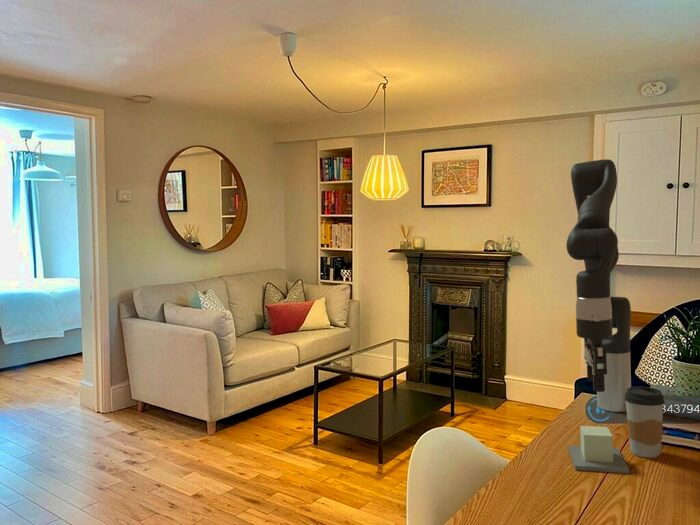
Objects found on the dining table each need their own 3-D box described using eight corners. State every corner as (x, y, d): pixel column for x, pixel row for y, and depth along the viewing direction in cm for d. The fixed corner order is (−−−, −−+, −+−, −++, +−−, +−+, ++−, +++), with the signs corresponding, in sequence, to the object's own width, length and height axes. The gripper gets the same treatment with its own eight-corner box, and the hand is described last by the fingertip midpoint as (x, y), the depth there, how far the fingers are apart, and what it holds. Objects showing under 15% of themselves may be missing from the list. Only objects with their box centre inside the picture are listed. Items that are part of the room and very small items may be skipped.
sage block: (580, 450, 131) (580, 425, 131) (608, 452, 130) (607, 427, 129) (584, 460, 125) (584, 434, 125) (613, 462, 124) (612, 436, 124)
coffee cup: (655, 446, 134) (654, 385, 134) (672, 460, 126) (671, 395, 125) (620, 446, 135) (618, 386, 134) (634, 460, 127) (632, 396, 126)
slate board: (568, 449, 135) (568, 445, 135) (617, 452, 132) (617, 447, 132) (575, 470, 123) (575, 465, 123) (629, 473, 120) (628, 468, 120)
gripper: (572, 311, 134) (573, 377, 134) (581, 321, 120) (583, 394, 121) (605, 311, 132) (607, 377, 133) (618, 321, 118) (620, 395, 119)
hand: (595, 385), depth 127 cm, fingers open, 8 cm apart
